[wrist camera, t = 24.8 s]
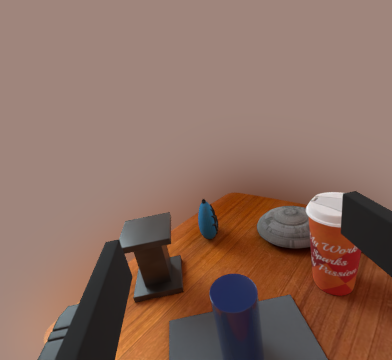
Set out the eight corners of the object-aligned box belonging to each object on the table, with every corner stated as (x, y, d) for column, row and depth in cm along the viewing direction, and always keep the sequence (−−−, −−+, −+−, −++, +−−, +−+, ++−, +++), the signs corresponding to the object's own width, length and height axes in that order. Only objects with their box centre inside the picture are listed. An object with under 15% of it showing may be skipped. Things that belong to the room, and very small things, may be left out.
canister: (227, 381, 29) (214, 318, 25) (217, 337, 34) (205, 279, 30) (271, 369, 29) (265, 305, 25) (254, 327, 35) (247, 269, 31)
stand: (135, 302, 43) (115, 249, 39) (140, 268, 52) (125, 221, 47) (183, 292, 43) (169, 238, 39) (181, 259, 52) (169, 211, 47)
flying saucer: (252, 249, 51) (249, 227, 49) (262, 212, 63) (260, 194, 61) (332, 258, 45) (333, 234, 43) (326, 216, 57) (327, 195, 55)
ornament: (221, 244, 54) (215, 206, 50) (201, 247, 54) (194, 209, 51) (218, 224, 62) (212, 190, 58) (200, 227, 62) (193, 193, 58)
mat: (169, 442, 25) (168, 440, 25) (170, 322, 38) (169, 320, 38) (350, 400, 26) (350, 398, 26) (290, 296, 39) (290, 294, 39)
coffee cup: (298, 285, 40) (296, 209, 35) (316, 257, 45) (317, 187, 40) (355, 312, 35) (364, 225, 29) (369, 276, 40) (379, 196, 34)
